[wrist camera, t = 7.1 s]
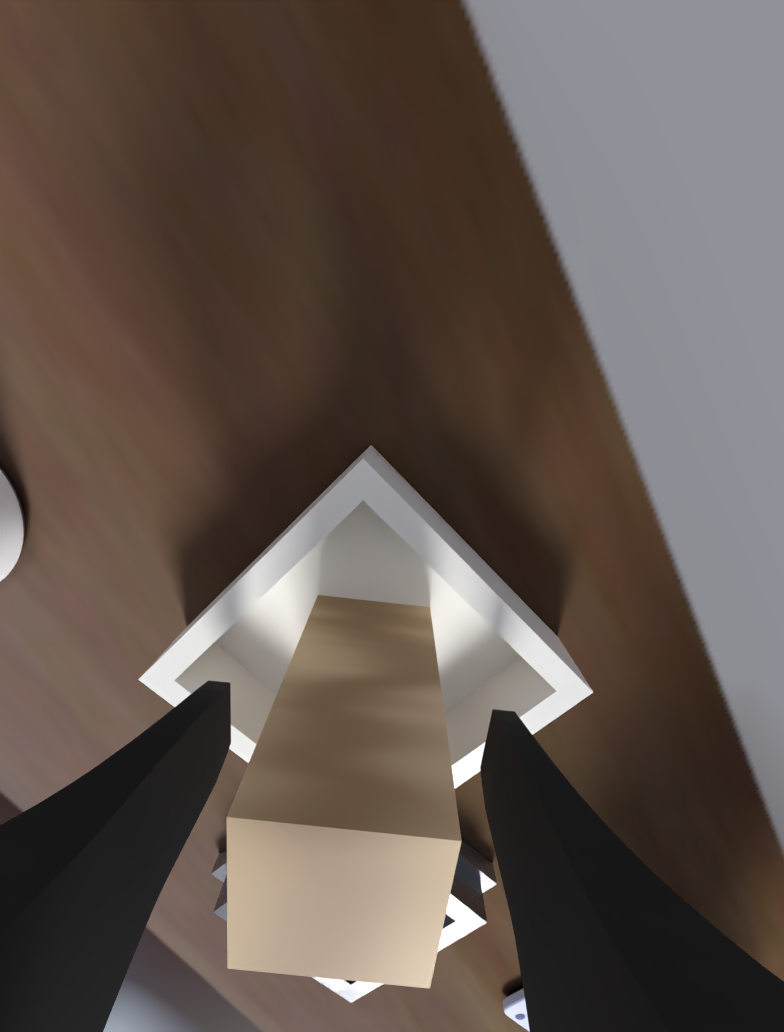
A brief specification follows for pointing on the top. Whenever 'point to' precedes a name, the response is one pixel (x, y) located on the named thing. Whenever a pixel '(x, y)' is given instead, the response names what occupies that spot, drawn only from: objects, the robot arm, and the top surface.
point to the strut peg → (347, 806)
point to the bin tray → (384, 578)
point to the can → (10, 525)
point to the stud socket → (459, 920)
